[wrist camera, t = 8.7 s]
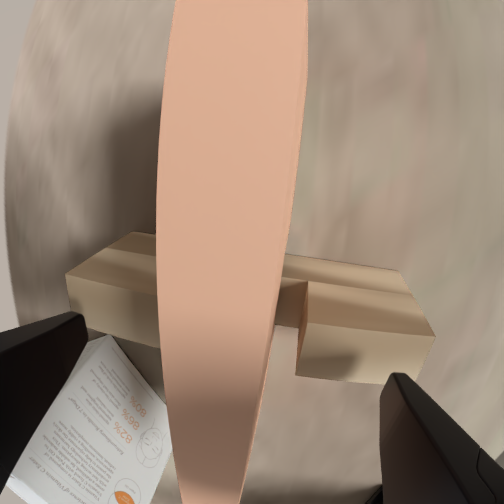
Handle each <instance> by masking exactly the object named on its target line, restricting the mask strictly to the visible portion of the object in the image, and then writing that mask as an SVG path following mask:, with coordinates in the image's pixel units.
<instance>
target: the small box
mask: <svg viewBox="0 0 504 504" xmlns="http://www.w3.org/2000/svg"><path fill="white" fill-rule="evenodd" d="M172 450H173V449H172V443H171V436H170V429H169V422H168V414H167V406H166V405H165V403H164V402H163V401H162V400H161V399H160V398H159V396H158V395H157V394H156V393H155V392H154V390H153V389H152V388H151V387H150V386H149V384H148V383H147V382H146V381H145V379H144V378H143V377H142V376H141V374H140V373H139V372H138V370H137V369H136V368H135V367H134V365H133V364H132V363H131V361H130V360H129V359H128V358H127V356H126V355H125V353H124V352H123V351H122V349H121V348H120V347H119V345H118V344H117V343H116V341H115V340H114V338H113V337H112V336H111V335H109V334H108V335H106V336H103V337H101V338H98V339H95V340H92V341H90V342H87V344H86V346H85V348H84V350H83V352H82V354H81V356H80V357H79V359H78V361H77V363H76V365H75V367H74V369H73V371H72V373H71V375H70V376H69V378H68V380H67V382H66V383H65V385H64V386H63V388H62V389H61V391H60V393H59V394H58V396H57V397H56V399H55V400H54V402H53V403H52V405H51V407H50V408H49V410H48V411H47V413H46V415H45V416H44V418H43V419H42V421H41V423H40V424H39V426H38V428H37V429H36V431H35V433H34V434H33V436H32V438H31V439H30V441H29V443H28V445H27V446H26V448H25V450H24V452H23V453H22V455H21V457H20V459H19V460H18V462H17V464H16V466H15V468H14V469H13V471H12V473H11V475H10V477H9V479H8V481H7V483H6V485H7V486H8V487H9V488H10V489H11V490H12V491H13V492H15V493H16V494H17V495H18V496H19V497H21V498H22V499H23V500H24V501H25V502H27V503H28V504H150V502H151V500H152V498H153V495H154V493H155V491H156V488H157V486H158V483H159V481H160V479H161V476H162V474H163V471H164V469H165V467H166V464H167V462H168V459H169V457H170V454H171V452H172Z"/></svg>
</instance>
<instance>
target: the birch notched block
mask: <svg viewBox="0 0 504 504" xmlns="http://www.w3.org/2000/svg"><path fill="white" fill-rule="evenodd" d="M65 278H66V284H67V291H68V296H69V302H70V307H71V311H74V312H77V313H81V314H82V315H83V316H84V318H85V322H86V327H87V328H90V329H93V330H96V331H100V332H103V333H106V334H109V335H113V336H116V337H119V338H123V339H126V340H130V341H133V342H137V343H140V344H144V345H148V346H151V347H155V348H159V349H161V346H160V333H159V317H158V297H157V267H156V235H154V234H147V233H140V232H133V231H132V232H130V233H129V234H127V235H125V236H124V237H122V238H120V239H119V240H117V241H116V242H114V243H112V244H111V245H109V246H107V247H106V248H104V249H103V250H101V251H100V252H98V253H96V254H95V255H93V256H92V257H90V258H89V259H87V260H85V261H84V262H82V263H81V264H79V265H78V266H76V267H75V268H73V269H72V270H70V271H69V272H67V273H66V274H65ZM274 325H281V326H287V327H294V328H299V334H298V348H297V361H296V373H295V375H296V376H303V377H311V378H319V379H328V380H337V381H347V382H358V383H371V384H386V382H387V380H388V377H389V375H390V374H391V373H393V372H402V373H406V374H407V375H408V376H409V377H410V378H411V379H412V380H413V381H414V382H415V381H416V379H417V377H418V375H419V373H420V371H421V368H422V366H423V364H424V362H425V360H426V358H427V356H428V354H429V351H430V349H431V347H432V345H433V342H434V340H435V338H436V336H435V334H434V332H433V330H432V329H431V327H430V325H429V323H428V321H427V320H426V318H425V316H424V314H423V312H422V311H421V309H420V307H419V305H418V304H417V302H416V300H415V298H414V297H413V295H412V293H411V292H410V290H409V288H408V287H407V285H406V283H405V282H404V280H403V278H402V277H401V275H400V273H399V272H398V271H395V270H388V269H382V268H375V267H368V266H362V265H355V264H349V263H342V262H335V261H329V260H322V259H315V258H309V257H302V256H295V255H289V254H285V255H284V262H283V269H282V276H281V283H280V289H279V296H278V302H277V309H276V315H275V321H274Z"/></svg>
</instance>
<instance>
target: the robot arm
mask: <svg viewBox="0 0 504 504" xmlns="http://www.w3.org/2000/svg"><path fill="white" fill-rule="evenodd" d="M87 342H88V332H87V327H86V322H85V318H84V316H83V315H82V314H81V313H77V312H74V311H70V312H67V313H63V314H60V315H57V316H54V317H50V318H47V319H44V320H40V321H37V322H34V323H31V324H27V325H24V326H21V327H18V328H15V329H11V330H8V331H4V332H1V333H0V494H1V492H2V490H3V488H4V487H5V485H6V483H7V481H8V479H9V477H10V475H11V473H12V471H13V469H14V468H15V466H16V464H17V462H18V460H19V459H20V457H21V455H22V453H23V452H24V450H25V448H26V446H27V445H28V443H29V441H30V439H31V438H32V436H33V434H34V433H35V431H36V429H37V428H38V426H39V424H40V423H41V421H42V419H43V418H44V416H45V415H46V413H47V411H48V410H49V408H50V407H51V405H52V403H53V402H54V400H55V399H56V397H57V396H58V394H59V393H60V391H61V389H62V388H63V386H64V385H65V383H66V382H67V380H68V378H69V376H70V375H71V373H72V371H73V369H74V367H75V365H76V363H77V361H78V359H79V357H80V356H81V354H82V352H83V350H84V348H85V346H86V344H87ZM380 459H381V471H382V485H383V486H382V487H381V488H379V490H378V491H377V492H376V493H375V494H374V495H373V496H372V497H371V498H370V499H369V501H368V502H367V503H366V504H504V469H503V468H502V467H501V466H500V465H499V464H497V463H496V462H495V461H494V460H493V459H492V458H491V457H490V456H489V455H488V454H487V453H486V452H485V451H484V450H483V449H482V448H480V446H479V445H478V444H477V443H476V442H475V441H474V440H473V439H472V438H471V437H470V436H469V435H468V434H467V433H466V432H465V431H464V430H463V429H462V428H461V427H460V426H459V425H458V424H457V423H456V422H455V421H454V420H453V419H452V418H451V417H450V416H449V415H448V414H447V413H446V412H445V411H444V410H443V409H442V408H441V407H440V406H439V405H438V404H437V403H436V402H435V401H434V400H433V399H432V398H431V397H430V396H429V395H428V394H427V393H426V392H425V391H424V390H423V389H422V388H421V387H420V386H419V385H418V384H416V383H415V382H414V381H413V380H412V379H411V378H410V377H409V376H408V375H407V374H406V373H402V372H393V373H391V374H390V375H389V377H388V380H387V382H386V384H385V386H384V388H383V390H382V393H381V396H380Z"/></svg>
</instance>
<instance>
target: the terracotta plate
mask: <svg viewBox="0 0 504 504" xmlns="http://www.w3.org/2000/svg"><path fill="white" fill-rule="evenodd" d="M307 60H308V0H176V3H175V8H174V14H173V20H172V26H171V33H170V40H169V47H168V54H167V62H166V70H165V79H164V88H163V98H162V109H161V120H160V134H159V150H158V169H157V199H156V267H157V297H158V317H159V333H160V346H161V359H162V370H163V380H164V389H165V398H166V406H167V414H168V422H169V429H170V436H171V443H172V449H173V455H174V461H175V467H176V473H177V478H178V484H179V489H180V494H181V499H182V504H239V503H240V499H241V494H242V490H243V486H244V482H245V477H246V473H247V468H248V464H249V459H250V455H251V450H252V446H253V441H254V436H255V432H256V427H257V422H258V417H259V412H260V408H261V403H262V397H263V392H264V386H265V381H266V375H267V369H268V363H269V358H270V352H271V346H272V340H273V334H274V328H275V325H274V321H275V315H276V309H277V302H278V296H279V289H280V283H281V276H282V269H283V262H284V255H285V249H286V243H287V238H288V233H289V227H290V220H291V213H292V205H293V198H294V190H295V182H296V174H297V166H298V158H299V149H300V141H301V132H302V123H303V114H304V104H305V95H306V85H307Z"/></svg>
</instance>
